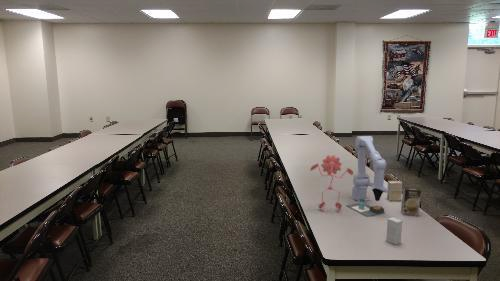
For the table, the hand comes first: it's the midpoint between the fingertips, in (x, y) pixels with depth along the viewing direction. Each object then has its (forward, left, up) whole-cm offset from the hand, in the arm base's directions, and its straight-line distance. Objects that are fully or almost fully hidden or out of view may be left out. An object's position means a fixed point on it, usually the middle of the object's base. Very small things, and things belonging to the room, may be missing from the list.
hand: (377, 200), depth 226 cm
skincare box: (+35, -21, -8) cm, 41 cm away
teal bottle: (-7, -6, -7) cm, 12 cm away
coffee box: (+10, +17, -8) cm, 21 cm away
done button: (0, 0, -7) cm, 7 cm away
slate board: (-6, -4, -8) cm, 11 cm away
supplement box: (-12, +26, -8) cm, 30 cm away
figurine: (-17, -23, -8) cm, 30 cm away
